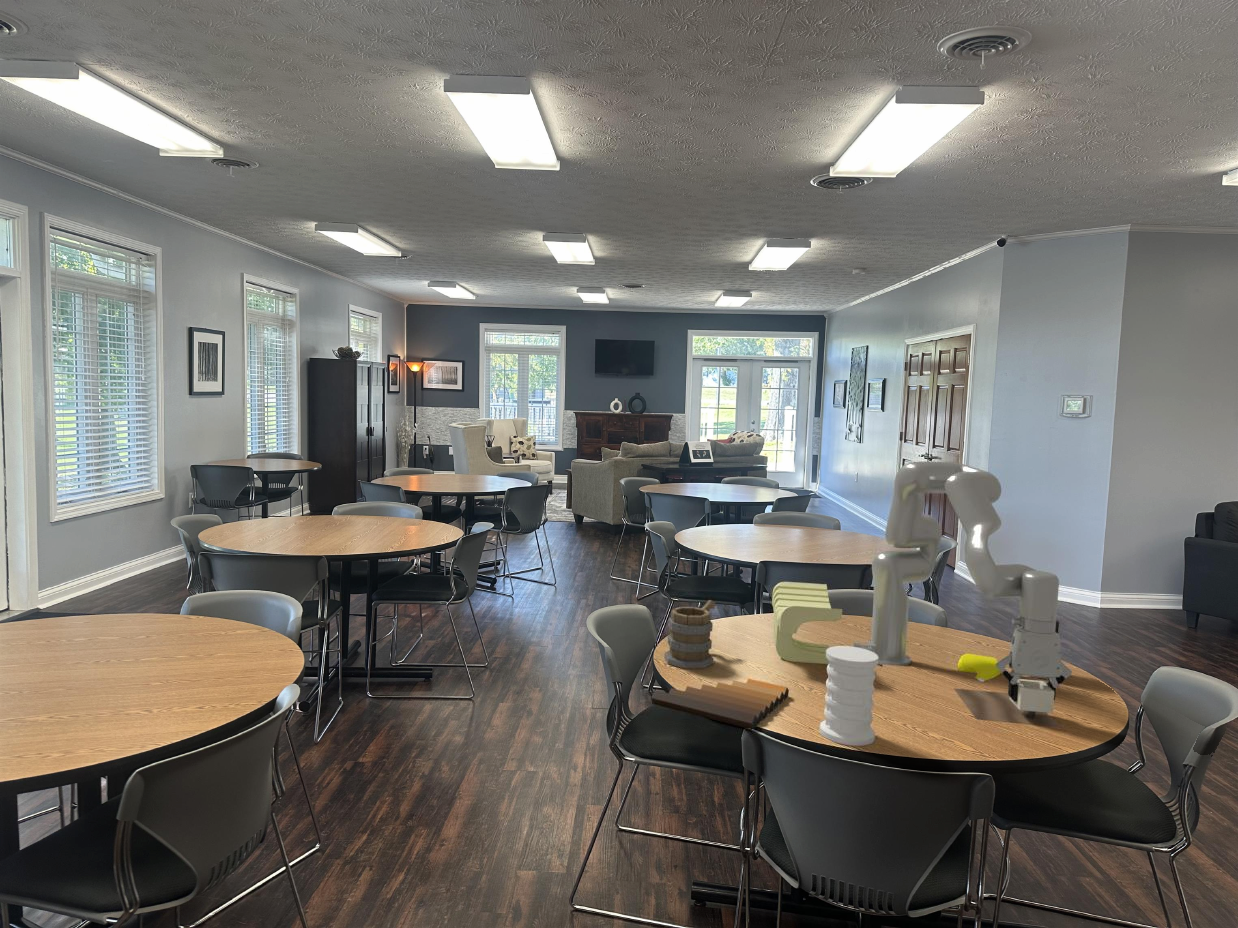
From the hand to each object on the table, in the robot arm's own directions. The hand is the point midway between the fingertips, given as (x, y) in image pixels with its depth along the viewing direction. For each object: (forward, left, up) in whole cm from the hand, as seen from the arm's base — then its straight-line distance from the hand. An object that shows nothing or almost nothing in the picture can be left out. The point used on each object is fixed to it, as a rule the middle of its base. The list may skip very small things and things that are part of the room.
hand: (1031, 700), depth 181 cm
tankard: (-79, +25, -6) cm, 83 cm away
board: (-4, +5, -5) cm, 8 cm away
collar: (0, 0, -1) cm, 1 cm away
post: (0, 0, -4) cm, 4 cm away
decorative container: (-43, -18, -6) cm, 47 cm away
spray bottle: (-2, +32, -6) cm, 32 cm away
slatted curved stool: (-49, +37, -6) cm, 62 cm away
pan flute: (-71, -5, -6) cm, 71 cm away
